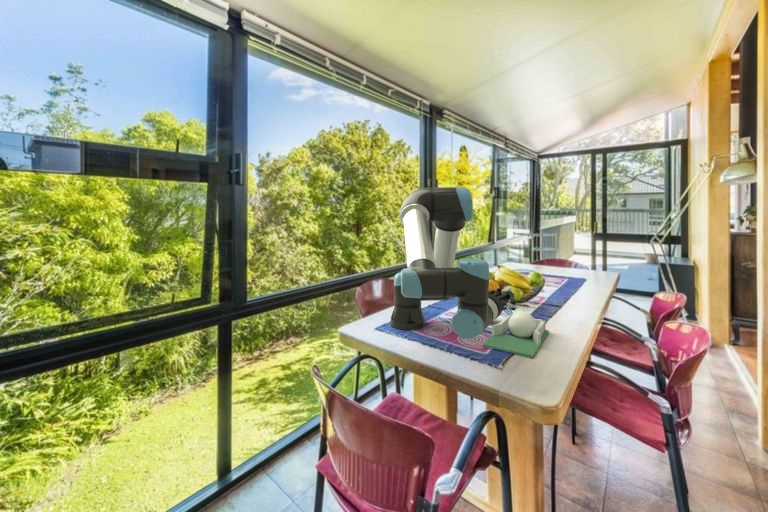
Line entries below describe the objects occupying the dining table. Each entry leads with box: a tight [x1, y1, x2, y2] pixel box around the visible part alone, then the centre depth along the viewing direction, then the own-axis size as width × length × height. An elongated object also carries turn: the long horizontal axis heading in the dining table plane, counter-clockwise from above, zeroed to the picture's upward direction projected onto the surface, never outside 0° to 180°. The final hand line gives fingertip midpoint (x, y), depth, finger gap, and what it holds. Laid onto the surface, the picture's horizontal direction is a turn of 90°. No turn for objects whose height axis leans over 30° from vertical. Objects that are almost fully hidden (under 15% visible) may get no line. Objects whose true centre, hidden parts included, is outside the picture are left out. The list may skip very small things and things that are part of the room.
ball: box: [508, 311, 536, 339], centre depth 131 cm, size 10×10×10 cm
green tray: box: [482, 313, 550, 359], centre depth 129 cm, size 17×28×5 cm, turn 145°
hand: (509, 290), depth 115 cm, fingers closed
